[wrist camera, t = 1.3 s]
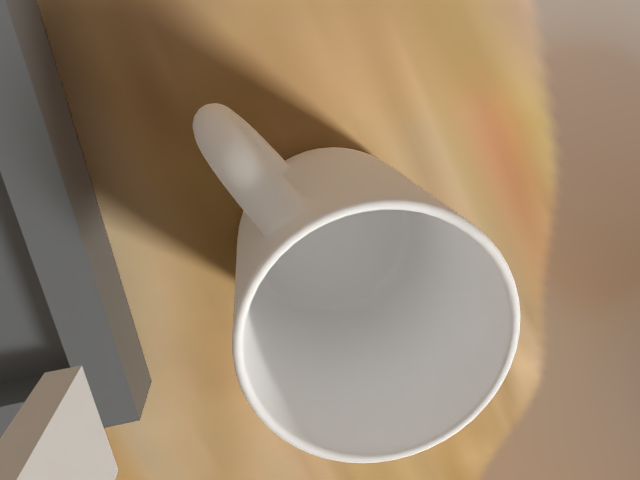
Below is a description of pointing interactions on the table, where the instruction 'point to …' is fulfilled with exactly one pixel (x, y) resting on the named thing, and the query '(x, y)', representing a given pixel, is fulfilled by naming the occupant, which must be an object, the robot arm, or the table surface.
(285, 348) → the mug
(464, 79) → the table surface
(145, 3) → the table surface
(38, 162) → the gray tray
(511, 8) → the table surface
